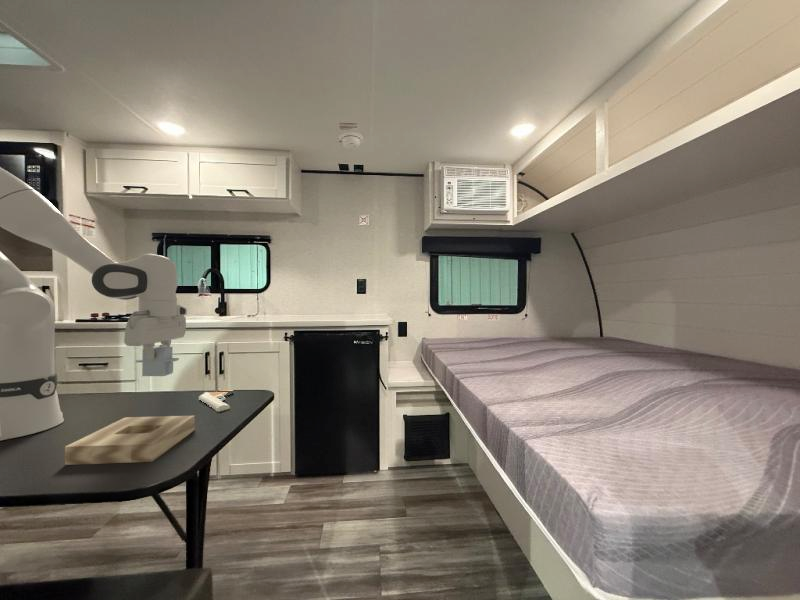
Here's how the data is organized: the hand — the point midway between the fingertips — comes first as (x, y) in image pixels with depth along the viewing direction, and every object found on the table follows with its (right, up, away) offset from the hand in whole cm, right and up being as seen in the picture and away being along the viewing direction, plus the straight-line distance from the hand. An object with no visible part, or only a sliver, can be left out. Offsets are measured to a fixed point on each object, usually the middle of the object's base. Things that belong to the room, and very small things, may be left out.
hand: (157, 357), depth 89 cm
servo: (0, -5, 0) cm, 5 cm away
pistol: (+9, -19, +18) cm, 28 cm away
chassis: (+6, -19, -14) cm, 25 cm away
